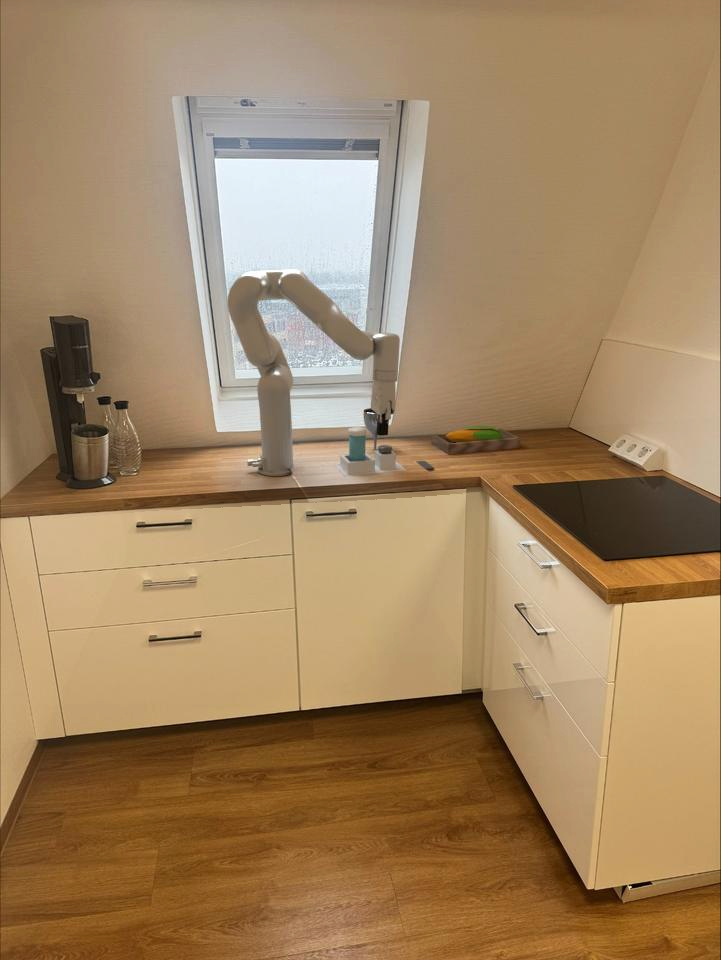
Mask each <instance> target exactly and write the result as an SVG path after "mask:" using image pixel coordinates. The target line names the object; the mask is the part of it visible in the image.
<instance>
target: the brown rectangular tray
mask: <svg viewBox="0 0 721 960" xmlns="http://www.w3.org/2000/svg"><path fill="white" fill-rule="evenodd" d="M496 429H497V430H499V431H500V432H501V434H502V435H503V439H495V440H483V441H471V442H460V443H457V442H456V443H453V442H454V441H450V440H448V439H447V438H446V435H448V434H449V433H450V432H441V433H432V434H431V445H433V446H434V445H435V446H434V447H436V448H437V447H438V448H437V449H439V450H441V452H444V454H446V455H455V454H457V453H458V454H466V453H468V454H469V453H477V452H478V453H480V452H479V451H481V452H489V451H491V450H492V451H500V449H501V451H502V449H503V450H512V449H513V448H514V449H520V448H521V439H522V438H521V437H519V436H517V435H514V434H513V433H511V432H509V431H506V430H504V428H503V429H502V428H496ZM497 430H496V431H497ZM458 454H457V455H458Z"/></svg>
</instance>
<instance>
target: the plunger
mask: <svg viewBox="0 0 721 960" xmlns="http://www.w3.org/2000/svg"><path fill="white" fill-rule="evenodd" d="M377 451H379V452H381V454H389V452H392V451H393V446H392V445H388V444H381V445H378V446H377Z"/></svg>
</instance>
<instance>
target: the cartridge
mask: <svg viewBox="0 0 721 960" xmlns="http://www.w3.org/2000/svg"><path fill="white" fill-rule="evenodd" d="M347 430H348V431H347V432H348V450H349V451H348V455H349V461H350V462H353V461H364V460H365V453H366V436H367V428H366V427H360V426H356V427H355V426H354V427H349V428H348V429H347Z"/></svg>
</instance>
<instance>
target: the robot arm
mask: <svg viewBox="0 0 721 960" xmlns="http://www.w3.org/2000/svg"><path fill="white" fill-rule="evenodd" d="M269 300H270V301H271V300H275V301H276V300H286V301H288V302H289V303H290V304H291V305H292V306H293V307H295V309H297V310H298V311H299V312H300V313H302V314H303V315H304V316H305V318H307V319H309V320H310V321H311V322H312V323H313V324H314V325H315V326H316V327H317V328H318V329H319V330H320V331H321V332H323V333H324V334H325V335H326V336H327V337H328V338H329V339H330V340H331V341H332V342H333V343H334V344H336V345H337V346H338V347H339V348H340V349H341V350H343V351H344V352H345V353H346V354H347V355H348V356H350V357H351V358H352V359H354V360H356V361H365V360H368V359H369V358H370V357H371V356H373V357H372V358H373V362H372V364H373V365H372V388H371V395H370V396H371V397H370V398H371V399H370V408H371V409H372V410H373V411H375V412H376V413H377V421H379V422H377V435H378V437H379V436H388V435H389V423H390V420H391V418H392V415H394V414H395V411H396V400H397V399H396V397H397V396H396V395H397V393H396V383H397V382H398V379H399V375H398V374H399V360H400V358H399V357H400V345H401V343H400V340H401V339H400V336H399V334H396V333H392V332H391V333H390V332H370V331H366V330H361V329H360V328H359V327H357V325H356V324H354V323H353V322H352V321H350V319H349V318H348V317H347V316H346V315H345V314H344V313H343V312H342V310H341V309H340V307H339V306H338V305H337V303H336V302H335V301H334V300H333V299H332V298H330V296H328V295H327V294H326V293H324V292H323V290H321V289H320V288H319V287H318V286H317V285H315V284H314V283H313V282H312V281H311V280H310V279H309V277H308V276H307V275H306V273H304V272H303V271H302V270H300V269H296V268H295V269H282V270H255V271H253V270H252V271H247V272H245V273H243V274H241V275H240V276H239V277H238V278H236V280H235V281H234V282H233V284H232V285H231V286H230V289H229V291H228V296H227V310H228V313H229V316H230V319H231V321H232V324H233V326H234V329H235V331H236V334H237V337H238V339H239V342H240V344H241V346H242V349H243V351H244V354H245V357H246V359H247V361H248V362H249V364H250V365H252V366H253V367H256V369H257V370H258V373H259V375H260V378H259V379H258V383H257V390H256V391H257V399H258V407H259V421H260V423H259V424H260V441H261V455H259V457H257V458H256V459H247V463H246V465H247V467H252V468H257V472H258V473H259V474H260V475H264V476H268V477H283V476H288V475H289V476H290V475H292V474H293V472H292V470H291V468H293V467H294V454H293V453H294V451H293V422H292V406H291V390H292V388H293V384H294V376H293V372H292V371H291V368H290V366H289V364H288V361H287V358H286V356H285V354H284V351H283V349H282V346H281V344H280V341H279V340H278V339H277V338H276V336H275V335H273V334H271V333H270V332H268V329H267V327H266V325H265V322H264V319H263V317H262V315H261V312H260V310H259V308H258V307H259V306H258V304H259V302H261V301H269Z"/></svg>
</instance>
